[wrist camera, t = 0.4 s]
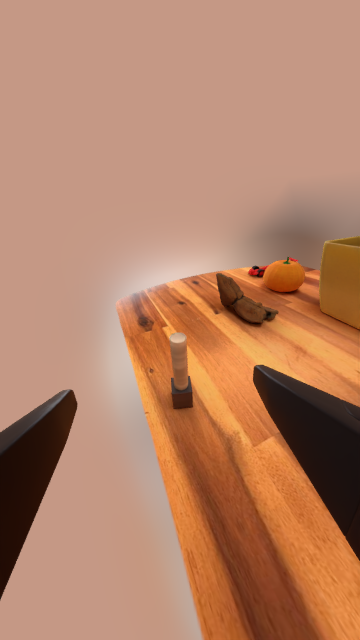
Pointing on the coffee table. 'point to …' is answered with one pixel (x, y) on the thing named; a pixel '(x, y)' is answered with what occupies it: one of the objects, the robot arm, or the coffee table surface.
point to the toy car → (261, 269)
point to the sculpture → (242, 301)
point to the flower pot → (341, 280)
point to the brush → (180, 372)
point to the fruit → (284, 276)
